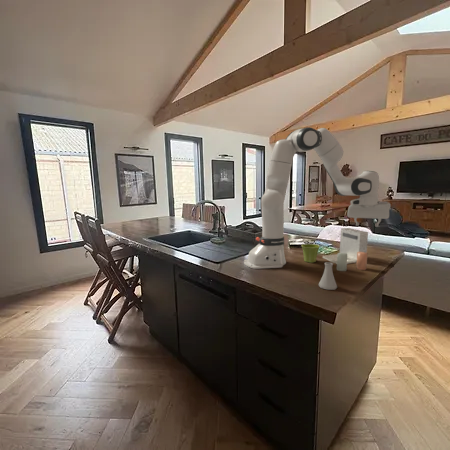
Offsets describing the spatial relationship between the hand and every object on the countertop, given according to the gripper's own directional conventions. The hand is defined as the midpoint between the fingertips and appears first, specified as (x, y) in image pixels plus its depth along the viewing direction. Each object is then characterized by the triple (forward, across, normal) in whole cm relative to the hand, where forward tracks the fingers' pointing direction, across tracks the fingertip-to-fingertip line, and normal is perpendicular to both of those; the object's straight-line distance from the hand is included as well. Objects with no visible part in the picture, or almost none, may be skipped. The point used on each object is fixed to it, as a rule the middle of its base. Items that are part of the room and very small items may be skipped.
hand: (366, 226), depth 142 cm
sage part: (+18, +10, +28) cm, 35 cm away
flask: (+18, +14, +53) cm, 58 cm away
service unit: (+18, +10, +10) cm, 23 cm away
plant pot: (+18, +26, +21) cm, 38 cm away
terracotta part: (+18, +2, +23) cm, 29 cm away
